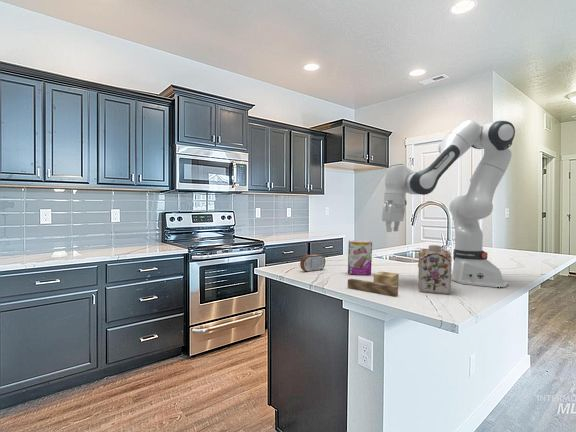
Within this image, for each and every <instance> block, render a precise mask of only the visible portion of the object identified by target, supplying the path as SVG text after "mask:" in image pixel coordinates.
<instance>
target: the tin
mask: <svg viewBox="0 0 576 432" xmlns="http://www.w3.org/2000/svg"><path fill="white" fill-rule="evenodd" d="M299 264H300V265H299V266H300V269H301V270H302V271H304V272H307V273H308V272H310V271H311V272H317V271H322V270H323V269H325V267H326V257H325V256H324V255H322V254H319V253H314V254H305V255H304V256H303V257H302V258H301V259H300V262H299Z"/></svg>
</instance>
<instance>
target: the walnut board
mask: <svg viewBox="0 0 576 432" xmlns="http://www.w3.org/2000/svg"><path fill="white" fill-rule="evenodd" d="M347 289H352V290H357V291H362V292H363V291H364V292H367V293H373V294H379V295H384V296H388V297H389V296H390V297H395V298H396V297H398V295H399V285H397V286H394V285H388V284H382V283H376V282H373V281H368V280H362V279H358V278H357V279H356V278H348V279H347Z"/></svg>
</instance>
